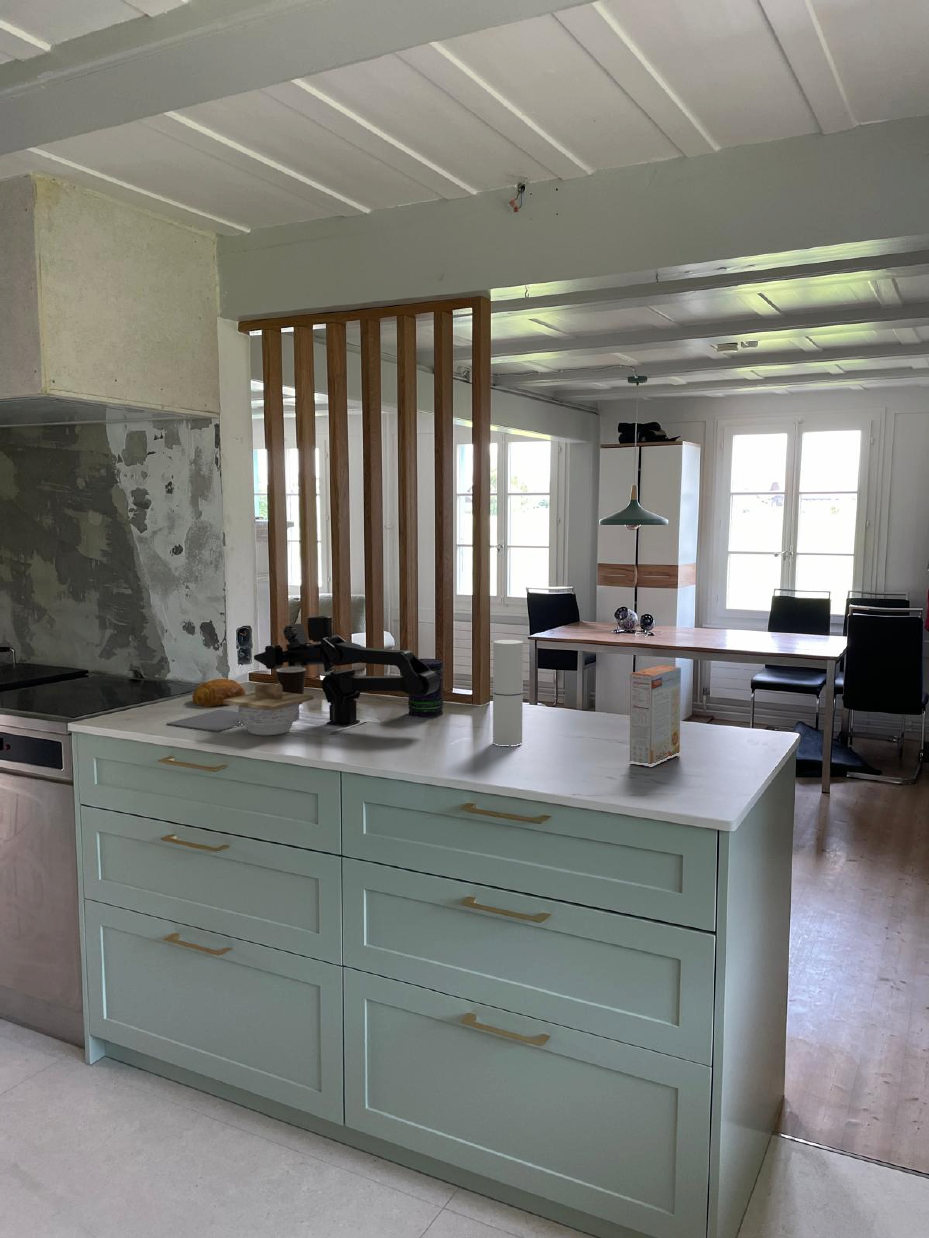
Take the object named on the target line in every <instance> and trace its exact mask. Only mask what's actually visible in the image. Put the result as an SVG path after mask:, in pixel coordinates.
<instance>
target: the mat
mask: <svg viewBox="0 0 929 1238" xmlns="http://www.w3.org/2000/svg"><path fill="white" fill-rule="evenodd" d="M165 725H167V726H172V727H178V726H182V727H181V728H185V727H188V728H187V729H192V728H193V730H199V729H202V730H201V731H206V732H214V733H221V732H223V730H224V731H227V730H226V729H228V730H231V729H233V728H232V727H234V726H238V727H240V726H239V725H241V723H239V711H232V710H224V709H217V710H214V711H209V712H205V713H202V714H198V715H194V716H190V717H185V718H182V719H178V720H177V719H176V720H174V721H169V722H166V724H165ZM230 728H231V729H230Z"/></svg>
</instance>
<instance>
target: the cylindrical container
mask: <svg viewBox="0 0 929 1238" xmlns="http://www.w3.org/2000/svg"><path fill="white" fill-rule="evenodd" d="M492 643H493V647H492V648H493V649H492V650H493V652H492V654H493V656H492V657H493V658H492V659H493V660H492V661H493V662H492V663H493V664H492V675H493V676H492V685H493V686H492V744H493V743H495V744H498V745H509V746H511V745H517V744H520V743H522V744H523V707H524V706H523V701H524V696H523V695H524V694H523V693H524V692H523V690H524V687H523V686H524V685H523V682H524V641H523V640H518V639H498V640H494V641H493V642H492Z"/></svg>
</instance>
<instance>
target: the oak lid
mask: <svg viewBox="0 0 929 1238" xmlns="http://www.w3.org/2000/svg"><path fill="white" fill-rule="evenodd" d="M254 687H255V689H254V690H255V691H254V692H251V693H247V694H245V695H242V696H238V697H234V698H230V699H226V700H223V704H226V705H229V706H236V707H238V706H243V707H250V708H258V709H266V710H276V709H280V708H284V707H287V706H291V705H295V704H298V703H302V702H303V703H305V702H308V701H312V700H313V701H314V695H312V694H296V693H287V692H282V685H278V684H277V683H275V684H274V683H267V682H266V683H265V682H259V683H258V682H257V683H255V684H254ZM303 703H302V704H303Z"/></svg>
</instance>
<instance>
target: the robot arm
mask: <svg viewBox="0 0 929 1238" xmlns="http://www.w3.org/2000/svg"><path fill="white" fill-rule="evenodd" d="M306 627H307V635H306V632H305V629H304V626H303V625H302V623H292V624H290V625H286V626H285V627H284V628H283V631H282V633H283V636H284V639H285V640H286V641H287V642H288V643H286V650H283V647H282V646H281V645H280V644H273V645H272V644H271V645H266V646H265V647H264V652H260V653H258V654H254V655H253V660H254V661H256V662H258V663H260V664H262V665H263V666H265V669H267V670H277V669H281V668H283V666H284V663H287V666H288V667H296V666H301V667H307V666H323V670H324V672H325V673H329V674H327V675H325V676H324V677H323V678H322V681H321V689H322V691H323V692H324V695H325V699H326V702H327V703H330V704H329V705H328V706H329V711H328V712H329V720H328V721H327V723H326V724H327V725H332V726H333V725H335V726H340V727H341V726H342V727H349V726H352V725H355V724H358V723H360V722H361V720H360V719H357V700H356V699H360V696H361V693H362V692H401V693H402V694H403V693H404V694H406V695H408V696H409V695H413V696H418V697H420V696H424V695H427V694H430V693H432V692H435V691H436V690H437V689H438V687H439V685H440V680H439V677H438V675H437V674H436V673H435V672H434V671H431V670H430V668H429V667H428V666H427V665H426V664H424V663H423V662H422V661H420V660H419V659H420V658H418V657H417V656H416V654H414V653H413V651H411V650H410V649H405V650H403V649H402V650H401V649H387V648H375V647H374V648H372V647H365V646H363V645H361V644H358V643H355V642H352V641H346V640H345V639H343V638H342V637H341V636H340V635H339V634H335V635H333V617H332V616H330V615H329V616H328V615H327V616H326V615H314V616H308V617H307V616H306ZM307 636H308V637H307ZM308 640H309V641H312V642H308ZM352 664H373V665H381V666H382V665H383V666H396V668H397V669H399V673H400V674H401V675H358V674H356V668H354V669H353V668H352V669H345V668H342V669H339V670H334V669H335V667H338V666H345V665H346V666H347V665H352Z"/></svg>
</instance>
